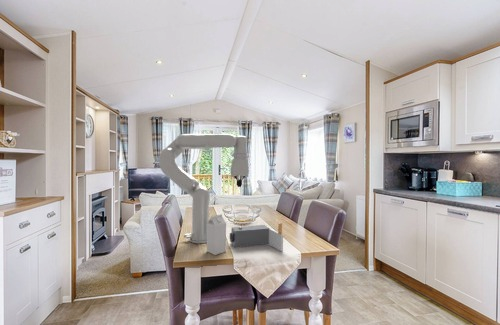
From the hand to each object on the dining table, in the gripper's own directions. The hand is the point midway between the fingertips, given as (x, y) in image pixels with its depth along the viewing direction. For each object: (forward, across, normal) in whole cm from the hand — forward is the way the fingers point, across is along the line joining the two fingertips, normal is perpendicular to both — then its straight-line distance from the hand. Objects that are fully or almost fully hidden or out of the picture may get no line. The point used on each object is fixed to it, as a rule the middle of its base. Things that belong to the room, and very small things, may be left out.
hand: (239, 186), depth 163 cm
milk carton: (+31, -16, -21) cm, 41 cm away
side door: (+30, +16, -23) cm, 41 cm away
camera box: (+31, +4, -13) cm, 34 cm away
